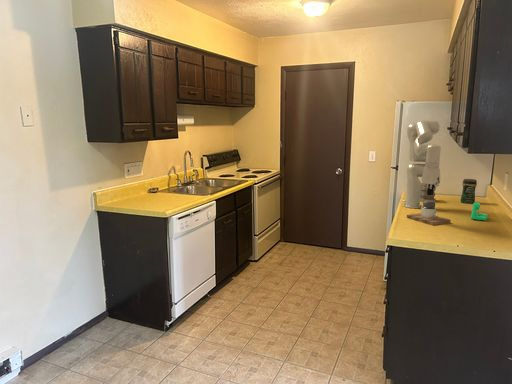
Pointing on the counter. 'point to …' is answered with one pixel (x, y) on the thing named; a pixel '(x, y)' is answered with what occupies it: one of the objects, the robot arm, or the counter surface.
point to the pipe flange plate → (428, 217)
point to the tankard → (424, 194)
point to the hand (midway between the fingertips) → (430, 194)
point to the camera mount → (477, 215)
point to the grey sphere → (429, 204)
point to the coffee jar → (468, 191)
